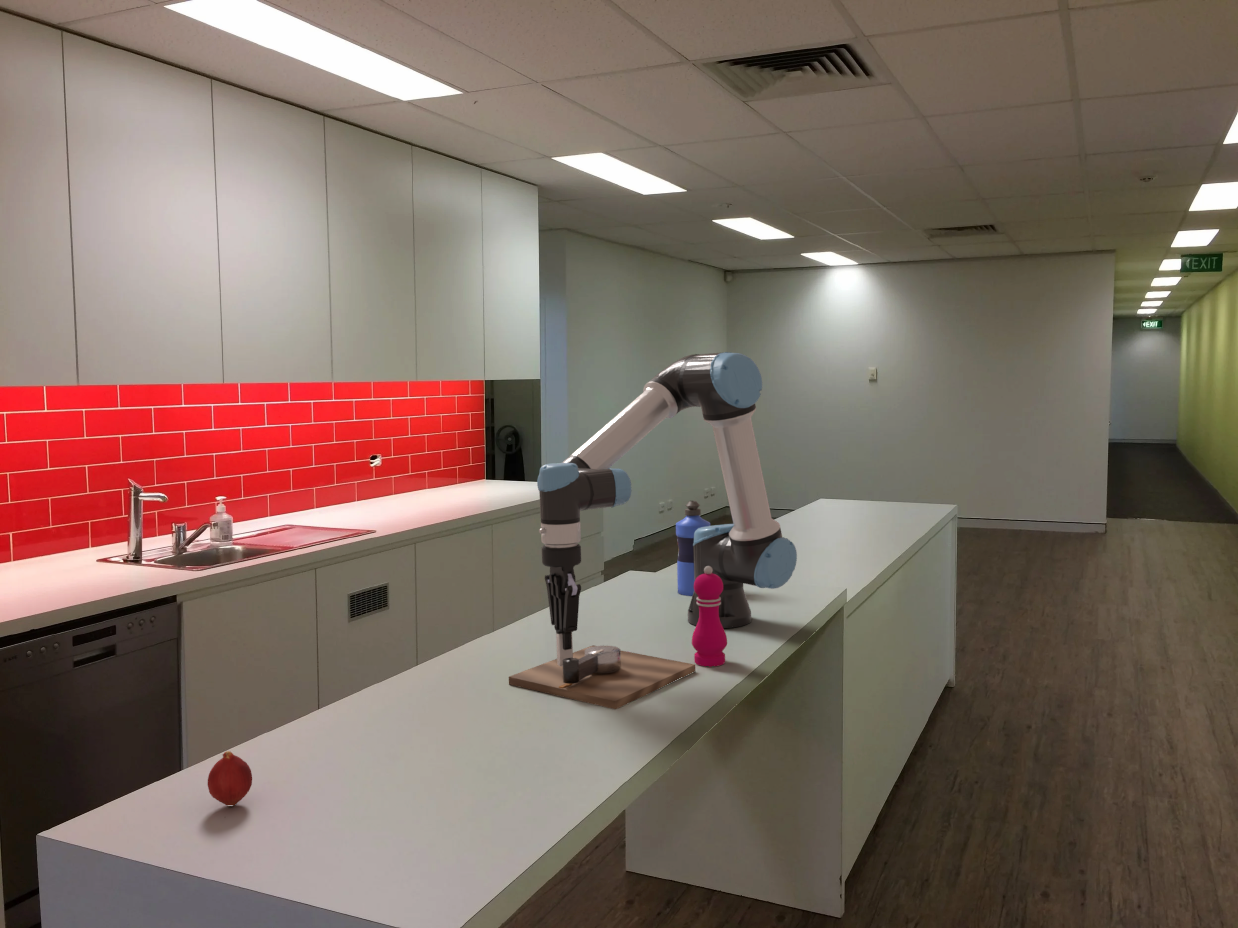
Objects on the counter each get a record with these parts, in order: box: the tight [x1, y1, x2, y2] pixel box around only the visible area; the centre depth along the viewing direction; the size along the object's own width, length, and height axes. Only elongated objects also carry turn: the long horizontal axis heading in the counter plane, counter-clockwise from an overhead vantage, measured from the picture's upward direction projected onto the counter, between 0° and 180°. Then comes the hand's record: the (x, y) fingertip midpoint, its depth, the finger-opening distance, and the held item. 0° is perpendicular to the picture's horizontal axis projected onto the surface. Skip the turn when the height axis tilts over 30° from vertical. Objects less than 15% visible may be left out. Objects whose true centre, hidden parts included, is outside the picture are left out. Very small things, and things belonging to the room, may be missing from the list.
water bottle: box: [675, 500, 711, 597], centre depth 261 cm, size 9×9×25 cm
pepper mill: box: [691, 566, 728, 668], centre depth 197 cm, size 7×7×20 cm
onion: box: [207, 750, 253, 806], centre depth 135 cm, size 6×6×8 cm
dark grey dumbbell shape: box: [562, 645, 622, 684], centre depth 185 cm, size 16×7×4 cm, turn 148°
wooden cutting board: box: [508, 645, 696, 710], centre depth 189 cm, size 26×26×2 cm
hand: (565, 664), depth 187 cm, fingers closed
